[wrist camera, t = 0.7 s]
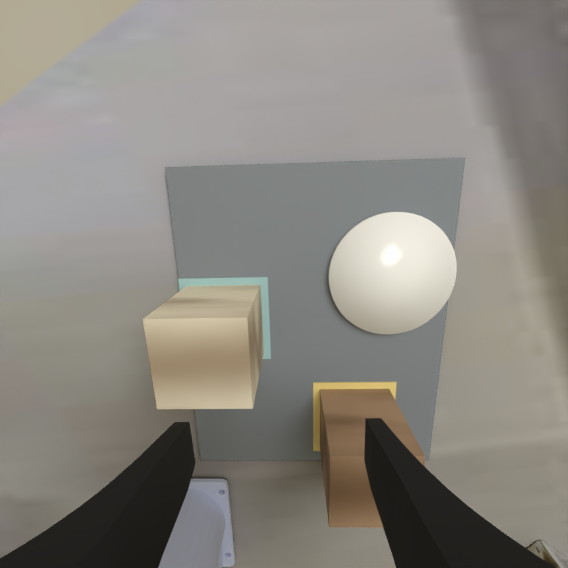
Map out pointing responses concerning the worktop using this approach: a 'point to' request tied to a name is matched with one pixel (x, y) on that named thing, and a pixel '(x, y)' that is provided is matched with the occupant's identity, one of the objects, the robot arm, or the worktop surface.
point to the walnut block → (355, 451)
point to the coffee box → (548, 554)
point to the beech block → (206, 347)
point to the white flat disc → (392, 272)
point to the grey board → (307, 290)
